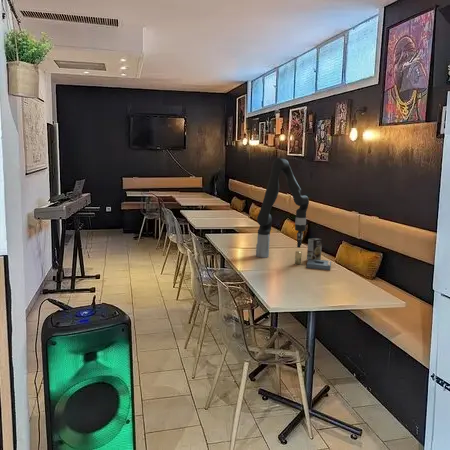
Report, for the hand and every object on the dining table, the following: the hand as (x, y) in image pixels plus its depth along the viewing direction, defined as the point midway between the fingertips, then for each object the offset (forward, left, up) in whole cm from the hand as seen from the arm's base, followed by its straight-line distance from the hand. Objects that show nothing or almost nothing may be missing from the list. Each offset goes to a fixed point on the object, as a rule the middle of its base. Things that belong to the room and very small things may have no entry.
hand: (299, 246), depth 326 cm
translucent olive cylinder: (0, 0, -13) cm, 13 cm away
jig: (+15, -1, -13) cm, 20 cm away
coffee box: (+10, +18, -13) cm, 24 cm away
